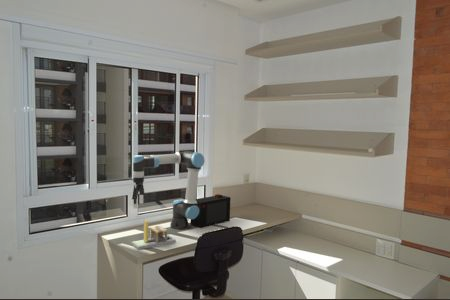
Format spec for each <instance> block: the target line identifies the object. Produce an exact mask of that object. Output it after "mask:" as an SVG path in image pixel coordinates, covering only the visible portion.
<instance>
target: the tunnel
mask: <svg viewBox="0 0 450 300" xmlns="http://www.w3.org/2000/svg"><path fill="white" fill-rule="evenodd" d="M154 231H155V232H156V243H158V233H160V232H163V233H164V236H165V242H166V241H167V235H168V229H166V228H165V227H163V226H162V225H155V226H150V227H149V238H150V239H151V237H153V236H154Z"/></svg>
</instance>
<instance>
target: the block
mask: <svg viewBox="0 0 450 300" xmlns="http://www.w3.org/2000/svg"><path fill="white" fill-rule="evenodd" d="M163 236H164V232H160V233H158V238H162V237H163ZM154 237H155V238H156V232H155V231H154Z"/></svg>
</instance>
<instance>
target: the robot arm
mask: <svg viewBox="0 0 450 300" xmlns="http://www.w3.org/2000/svg"><path fill="white" fill-rule="evenodd" d="M132 158H133V159H132V165H133V166H132V176H133V178H132V182H133V183H135V184H133V191H132V198H131V200H133V201H132V202H133V203H132V204H133V205H132V206H133V209H138V195H139V204H140V205H141V204H144V195H145V188H144V182H145V178H144V177H145V169H152V168H159V166H160V165H166V164H177V165H184V166H186V169H187V178H186V189H185V199H183V198H181V199H175V200H173V203H172V219H171V221H170V228H172V230H173V229H174V230H186V229H188V228H189V222H188V221H189V220H191V219H195V218H196V217H197V216H198V214H199V208H198V207H197V201H196V199H197V191H198V183H199V172H200V170H202V167H203V166H204V164H205V157H204V155H203V154H202V153H200V152H198V151H192V150H191V151H190V150H189V151H178V152H175V153H167V154H166V153H165V154H152V155H151V154H150V155H143V154H141V155H140V154H139V155H138V154H136V155H134V156H133V157H132Z"/></svg>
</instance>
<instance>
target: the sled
mask: <svg viewBox="0 0 450 300" xmlns="http://www.w3.org/2000/svg"><path fill="white" fill-rule="evenodd" d="M143 240H144V242H149V241H155V242H156V238H155V237H154V236H153V237H151V239H149V221H148V220H143ZM161 240H165V238H164V237H162V238H158V241H161Z"/></svg>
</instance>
